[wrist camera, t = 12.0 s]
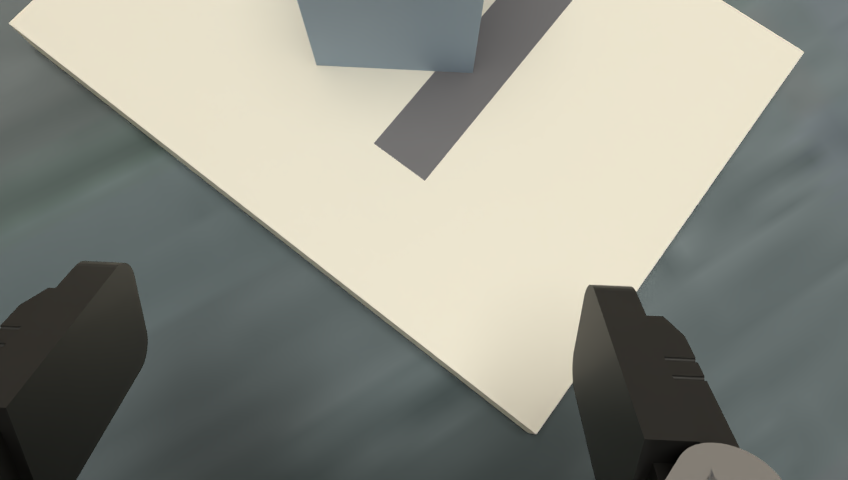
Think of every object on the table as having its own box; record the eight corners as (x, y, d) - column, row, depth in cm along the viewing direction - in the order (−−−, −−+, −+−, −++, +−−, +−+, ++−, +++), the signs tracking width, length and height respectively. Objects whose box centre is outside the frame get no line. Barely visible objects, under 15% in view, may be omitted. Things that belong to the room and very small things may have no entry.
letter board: (34, 47, 23) (8, 22, 22) (313, -223, 26) (307, -261, 25) (527, 432, 20) (536, 434, 19) (780, 74, 23) (804, 51, 22)
